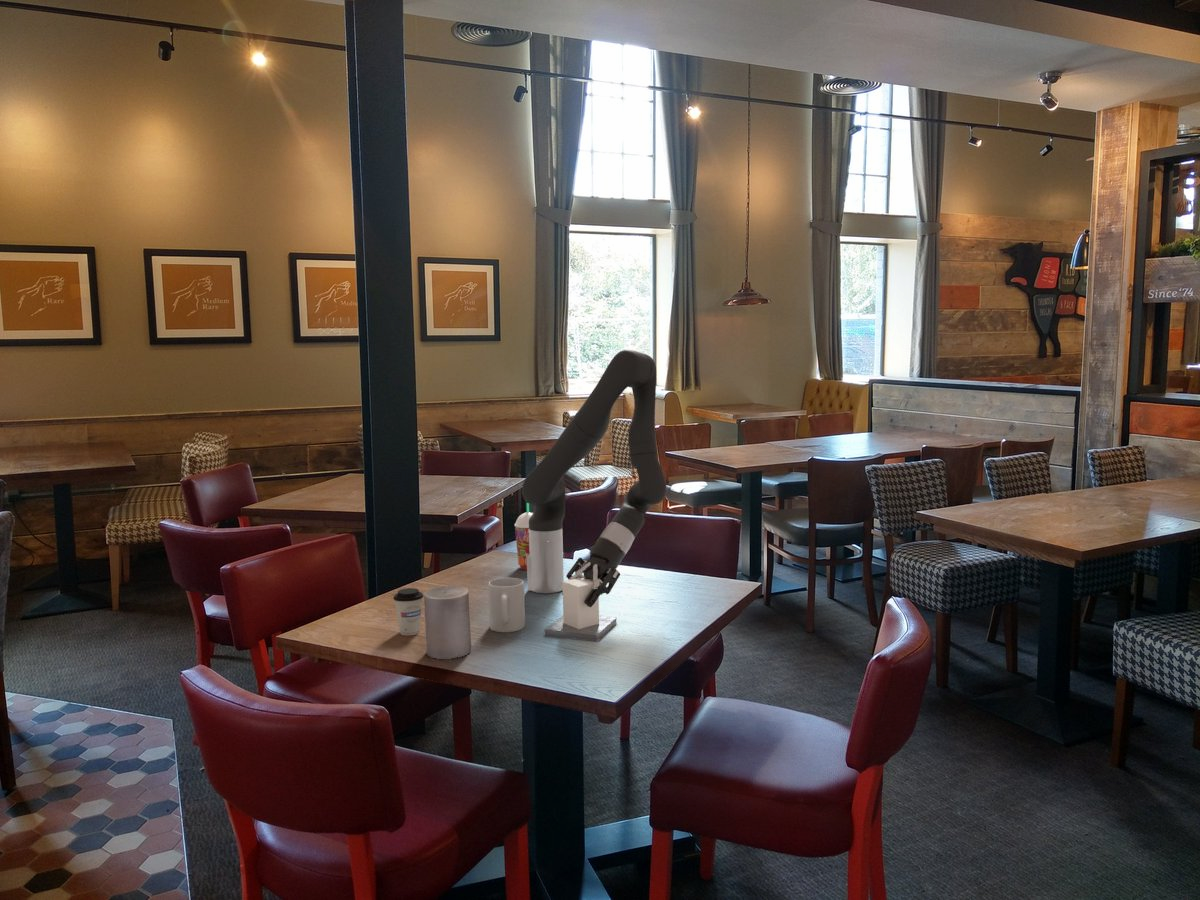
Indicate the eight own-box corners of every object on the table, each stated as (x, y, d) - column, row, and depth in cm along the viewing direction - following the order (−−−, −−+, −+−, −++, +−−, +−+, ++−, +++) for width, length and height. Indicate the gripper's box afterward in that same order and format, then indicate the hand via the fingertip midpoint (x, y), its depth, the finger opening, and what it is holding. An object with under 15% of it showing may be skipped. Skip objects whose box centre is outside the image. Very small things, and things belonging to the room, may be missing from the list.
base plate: (544, 635, 194) (543, 601, 193) (566, 618, 206) (565, 586, 205) (596, 641, 189) (596, 606, 189) (616, 623, 202) (615, 591, 201)
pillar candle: (439, 643, 190) (436, 578, 189) (479, 646, 188) (475, 581, 186) (418, 658, 181) (414, 591, 179) (459, 662, 178) (456, 593, 177)
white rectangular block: (563, 623, 198) (562, 581, 197) (583, 617, 202) (582, 577, 201) (578, 629, 194) (577, 586, 192) (599, 623, 197) (598, 582, 196)
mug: (491, 621, 205) (489, 577, 204) (526, 620, 205) (524, 576, 204) (486, 638, 193) (484, 591, 192) (523, 637, 193) (522, 590, 192)
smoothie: (510, 568, 256) (508, 504, 254) (530, 563, 262) (528, 500, 260) (528, 572, 251) (526, 506, 248) (549, 567, 257) (547, 503, 254)
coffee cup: (393, 629, 200) (391, 588, 199) (422, 625, 203) (420, 585, 202) (396, 638, 194) (394, 596, 193) (427, 634, 196) (425, 593, 195)
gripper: (585, 531, 206) (548, 586, 200) (623, 541, 195) (585, 598, 189) (602, 549, 210) (567, 603, 204) (640, 559, 199) (604, 616, 193)
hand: (575, 601), depth 196 cm, fingers open, 8 cm apart
